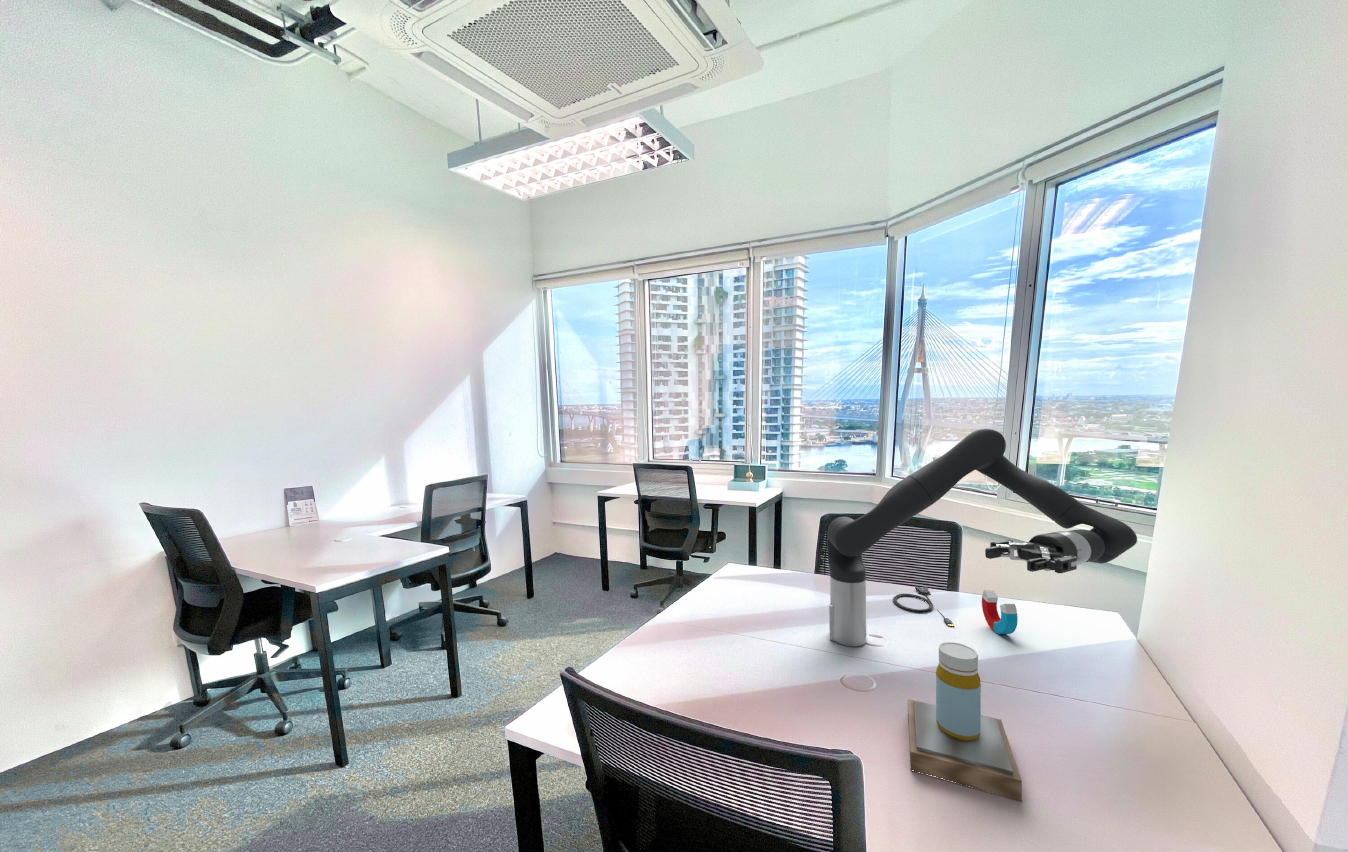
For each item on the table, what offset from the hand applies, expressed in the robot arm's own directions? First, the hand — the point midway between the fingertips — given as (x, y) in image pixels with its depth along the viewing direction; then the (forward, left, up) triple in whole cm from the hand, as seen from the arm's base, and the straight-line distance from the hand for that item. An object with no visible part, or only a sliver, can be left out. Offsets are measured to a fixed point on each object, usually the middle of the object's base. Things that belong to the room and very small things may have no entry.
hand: (1007, 559), depth 96 cm
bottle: (-11, -17, -28) cm, 34 cm away
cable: (-15, +50, -33) cm, 62 cm away
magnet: (+5, +39, -32) cm, 51 cm away
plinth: (-11, -18, -32) cm, 38 cm away
